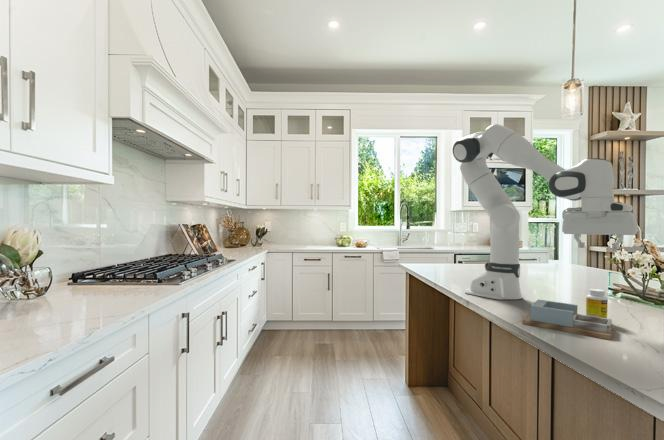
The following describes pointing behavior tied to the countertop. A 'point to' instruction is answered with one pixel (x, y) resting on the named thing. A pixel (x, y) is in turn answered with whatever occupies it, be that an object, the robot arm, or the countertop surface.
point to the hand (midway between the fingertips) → (598, 248)
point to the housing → (553, 312)
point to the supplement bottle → (596, 303)
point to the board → (580, 326)
